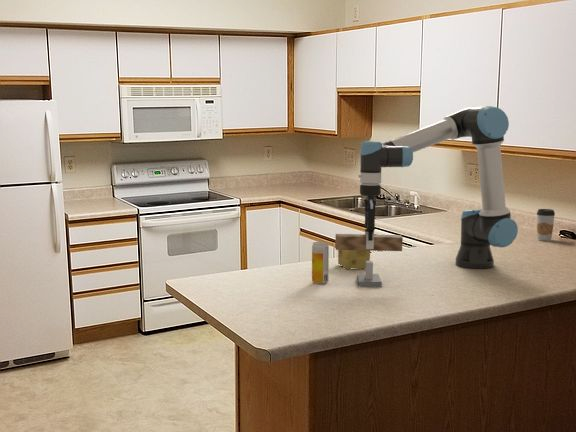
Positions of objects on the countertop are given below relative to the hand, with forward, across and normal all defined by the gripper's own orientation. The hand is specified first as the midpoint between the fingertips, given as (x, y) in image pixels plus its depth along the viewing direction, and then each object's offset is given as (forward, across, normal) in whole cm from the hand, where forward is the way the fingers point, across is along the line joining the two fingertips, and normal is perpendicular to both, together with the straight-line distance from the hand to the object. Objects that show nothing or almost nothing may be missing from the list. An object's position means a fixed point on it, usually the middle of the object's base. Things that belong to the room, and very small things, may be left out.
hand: (369, 247), depth 251 cm
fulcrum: (+13, 0, 0) cm, 13 cm away
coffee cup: (+13, -86, +93) cm, 128 cm away
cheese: (+14, -27, -4) cm, 31 cm away
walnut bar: (+1, 0, 0) cm, 1 cm away
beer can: (+14, 0, -18) cm, 22 cm away
